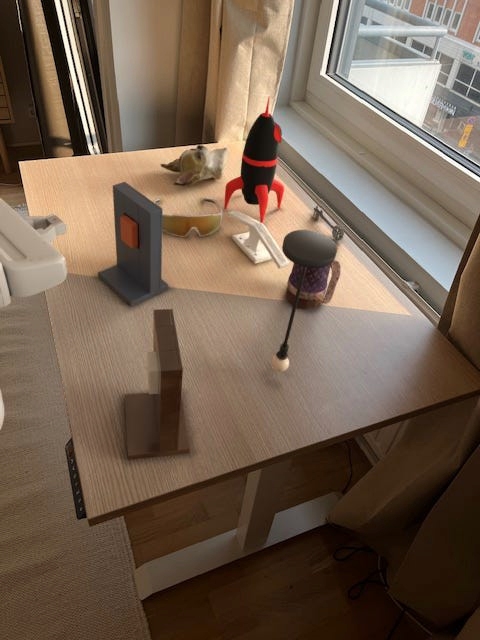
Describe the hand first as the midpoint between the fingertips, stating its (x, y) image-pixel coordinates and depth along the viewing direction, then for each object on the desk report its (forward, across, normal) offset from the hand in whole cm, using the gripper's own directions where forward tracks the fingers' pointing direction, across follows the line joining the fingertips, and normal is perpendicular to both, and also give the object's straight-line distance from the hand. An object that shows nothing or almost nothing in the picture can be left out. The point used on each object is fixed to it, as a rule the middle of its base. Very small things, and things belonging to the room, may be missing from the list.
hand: (61, 222), depth 74 cm
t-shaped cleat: (+37, +5, -17) cm, 41 cm away
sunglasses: (+34, -11, -17) cm, 39 cm away
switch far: (+12, 0, -8) cm, 14 cm away
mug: (+34, +23, -17) cm, 44 cm away
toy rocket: (+48, -6, -17) cm, 52 cm away
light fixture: (+16, +32, -17) cm, 39 cm away
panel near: (-3, +27, -17) cm, 32 cm away
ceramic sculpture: (+46, -23, -17) cm, 55 cm away
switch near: (-4, +27, -8) cm, 28 cm away
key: (+56, +9, -17) cm, 60 cm away
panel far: (+12, 0, -17) cm, 21 cm away
